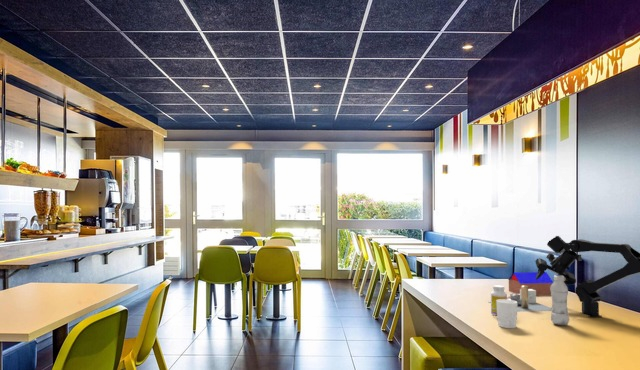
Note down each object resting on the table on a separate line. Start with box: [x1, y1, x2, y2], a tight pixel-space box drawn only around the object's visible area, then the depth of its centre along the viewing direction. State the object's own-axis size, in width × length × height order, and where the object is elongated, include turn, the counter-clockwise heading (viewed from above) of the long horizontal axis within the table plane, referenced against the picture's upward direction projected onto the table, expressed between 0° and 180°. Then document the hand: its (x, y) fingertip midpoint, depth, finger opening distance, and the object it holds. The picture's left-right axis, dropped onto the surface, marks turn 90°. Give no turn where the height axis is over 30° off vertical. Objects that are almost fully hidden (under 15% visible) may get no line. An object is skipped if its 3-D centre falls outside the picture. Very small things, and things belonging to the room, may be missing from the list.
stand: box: [488, 289, 552, 313], centre depth 205 cm, size 20×24×7 cm
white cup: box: [496, 299, 518, 329], centre depth 174 cm, size 8×8×10 cm
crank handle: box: [507, 285, 529, 308], centre depth 206 cm, size 15×9×10 cm, turn 6°
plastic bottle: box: [550, 274, 570, 326], centre depth 176 cm, size 6×7×20 cm
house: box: [507, 271, 554, 296], centre depth 243 cm, size 12×20×12 cm, turn 97°
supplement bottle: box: [490, 284, 508, 317], centre depth 191 cm, size 7×7×13 cm
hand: (544, 283), depth 209 cm, fingers open, 9 cm apart
